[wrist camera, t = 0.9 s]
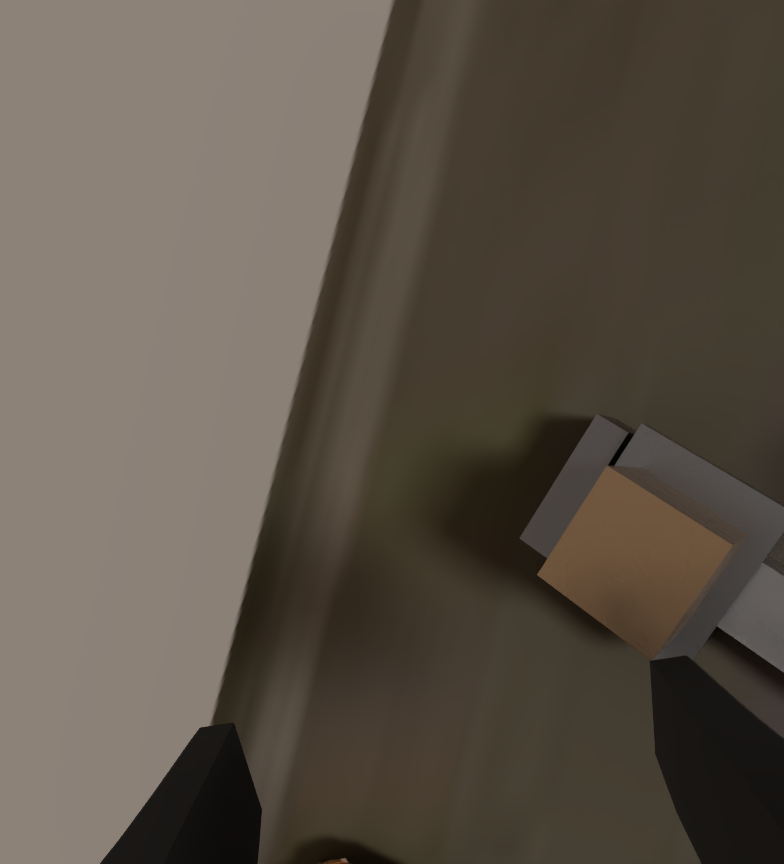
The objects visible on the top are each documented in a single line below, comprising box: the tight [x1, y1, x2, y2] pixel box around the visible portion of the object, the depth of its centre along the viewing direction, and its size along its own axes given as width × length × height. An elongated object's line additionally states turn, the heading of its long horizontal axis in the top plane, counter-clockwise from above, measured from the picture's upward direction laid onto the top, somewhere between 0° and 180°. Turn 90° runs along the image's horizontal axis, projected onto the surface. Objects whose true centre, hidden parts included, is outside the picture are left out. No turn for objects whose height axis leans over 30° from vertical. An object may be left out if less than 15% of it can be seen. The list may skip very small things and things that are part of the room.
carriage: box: [537, 423, 784, 660], centre depth 22 cm, size 5×6×7 cm
